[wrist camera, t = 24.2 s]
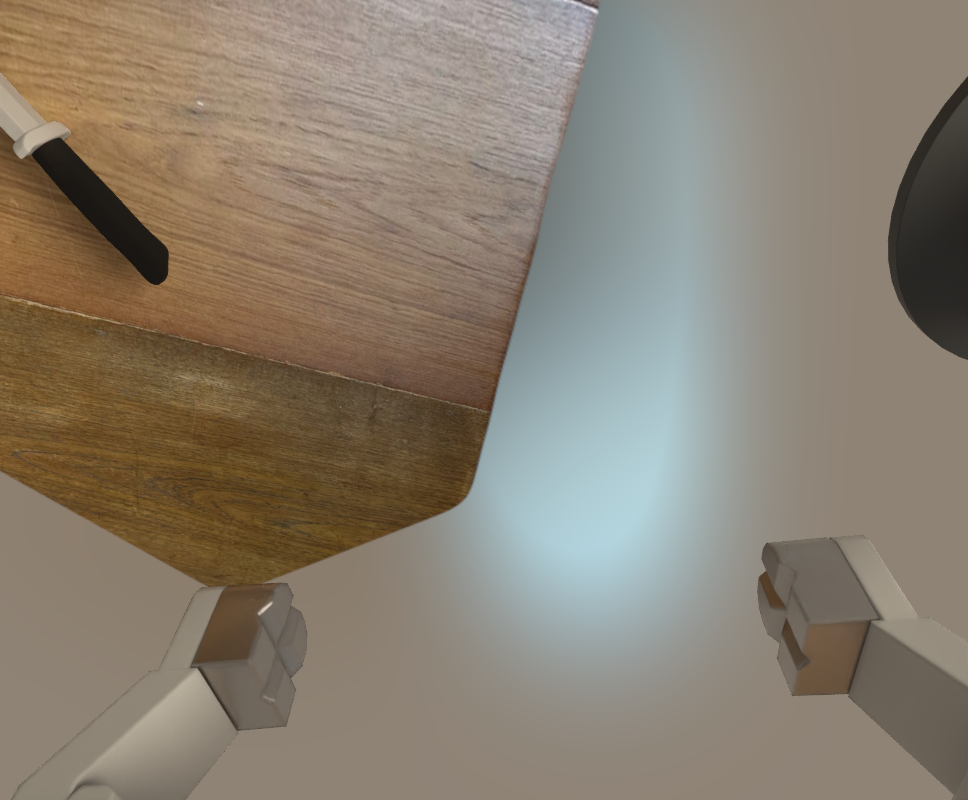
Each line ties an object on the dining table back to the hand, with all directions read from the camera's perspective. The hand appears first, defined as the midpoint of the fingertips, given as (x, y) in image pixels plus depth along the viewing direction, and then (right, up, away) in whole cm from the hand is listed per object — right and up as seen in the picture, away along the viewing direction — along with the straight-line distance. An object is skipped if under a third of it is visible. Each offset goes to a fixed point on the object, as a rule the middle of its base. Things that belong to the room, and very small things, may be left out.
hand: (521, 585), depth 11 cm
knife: (-29, +22, +31) cm, 47 cm away
